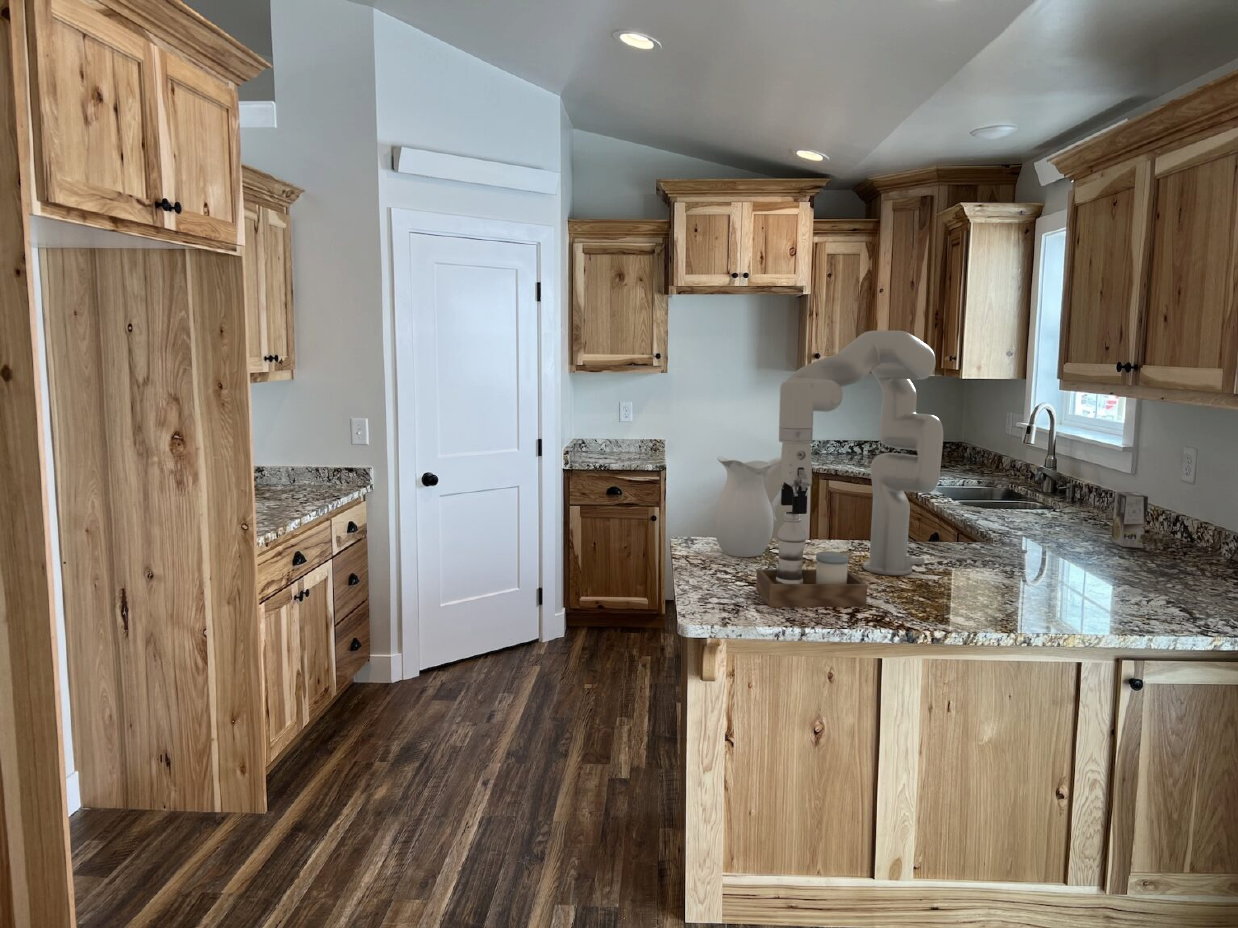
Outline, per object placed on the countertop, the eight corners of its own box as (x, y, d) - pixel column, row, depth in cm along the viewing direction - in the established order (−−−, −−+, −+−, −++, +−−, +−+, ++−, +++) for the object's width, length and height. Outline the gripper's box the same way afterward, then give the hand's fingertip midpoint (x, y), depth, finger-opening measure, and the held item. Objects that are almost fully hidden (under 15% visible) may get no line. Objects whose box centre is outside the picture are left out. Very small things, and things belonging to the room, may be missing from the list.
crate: (845, 593, 204) (846, 569, 203) (866, 610, 190) (867, 585, 189) (755, 593, 203) (756, 569, 202) (770, 611, 189) (771, 585, 188)
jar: (840, 593, 201) (842, 551, 199) (851, 602, 193) (853, 558, 192) (810, 593, 200) (812, 551, 199) (819, 602, 193) (821, 558, 191)
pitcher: (726, 561, 234) (729, 461, 230) (704, 547, 250) (707, 454, 246) (804, 557, 240) (809, 460, 236) (778, 544, 256) (781, 453, 252)
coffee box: (1144, 548, 259) (1149, 496, 257) (1121, 546, 260) (1126, 495, 258) (1132, 541, 268) (1137, 491, 266) (1110, 540, 269) (1115, 490, 267)
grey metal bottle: (782, 591, 201) (785, 509, 198) (808, 597, 197) (812, 512, 194) (768, 597, 196) (772, 512, 193) (795, 603, 192) (799, 516, 189)
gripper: (823, 439, 183) (820, 517, 185) (801, 431, 200) (799, 501, 202) (789, 440, 182) (787, 517, 185) (770, 431, 199) (768, 502, 202)
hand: (793, 509), depth 194 cm, fingers open, 9 cm apart
